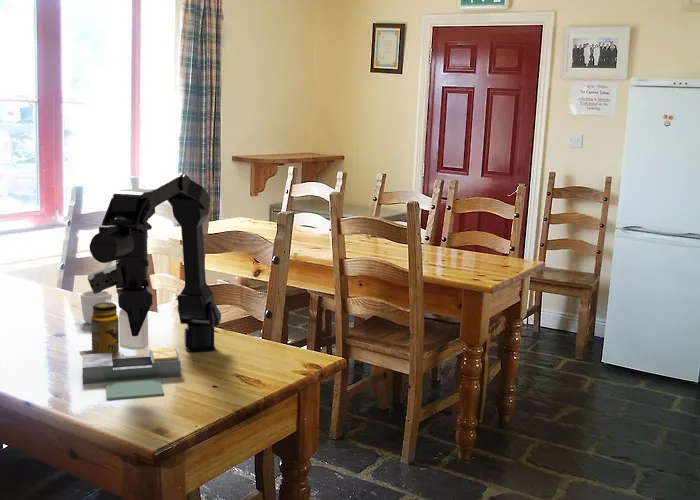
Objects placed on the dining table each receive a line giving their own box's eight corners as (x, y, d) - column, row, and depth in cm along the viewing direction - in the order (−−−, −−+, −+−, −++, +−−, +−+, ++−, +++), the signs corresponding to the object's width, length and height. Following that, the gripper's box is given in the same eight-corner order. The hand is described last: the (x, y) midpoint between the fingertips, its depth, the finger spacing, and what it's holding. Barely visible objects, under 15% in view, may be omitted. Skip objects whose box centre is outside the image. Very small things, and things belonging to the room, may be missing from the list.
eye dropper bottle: (131, 352, 144) (130, 293, 142) (117, 346, 148) (116, 288, 146) (150, 348, 147) (150, 290, 145) (136, 341, 151) (135, 285, 149)
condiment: (124, 356, 170) (123, 306, 168) (86, 361, 166) (85, 310, 164) (115, 347, 176) (114, 299, 174) (79, 352, 171) (77, 303, 170)
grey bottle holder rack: (176, 363, 166) (176, 346, 166) (180, 376, 158) (180, 358, 157) (83, 369, 160) (82, 351, 159) (82, 383, 151) (82, 364, 151)
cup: (125, 323, 197) (124, 294, 196) (101, 329, 191) (100, 300, 189) (99, 316, 203) (98, 288, 202) (74, 322, 196) (73, 293, 195)
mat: (160, 380, 155) (159, 378, 155) (164, 395, 147) (164, 393, 147) (105, 384, 151) (105, 382, 151) (106, 399, 143) (106, 398, 143)
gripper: (89, 247, 150) (91, 320, 153) (89, 264, 133) (91, 346, 136) (145, 246, 154) (146, 317, 157) (152, 262, 137) (153, 342, 140)
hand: (133, 330), depth 147 cm, fingers closed on eye dropper bottle, 8 cm apart
